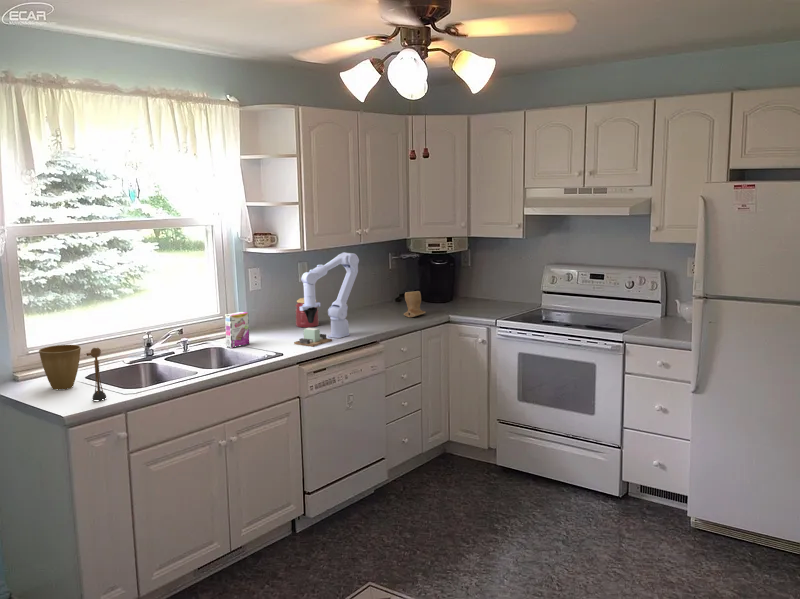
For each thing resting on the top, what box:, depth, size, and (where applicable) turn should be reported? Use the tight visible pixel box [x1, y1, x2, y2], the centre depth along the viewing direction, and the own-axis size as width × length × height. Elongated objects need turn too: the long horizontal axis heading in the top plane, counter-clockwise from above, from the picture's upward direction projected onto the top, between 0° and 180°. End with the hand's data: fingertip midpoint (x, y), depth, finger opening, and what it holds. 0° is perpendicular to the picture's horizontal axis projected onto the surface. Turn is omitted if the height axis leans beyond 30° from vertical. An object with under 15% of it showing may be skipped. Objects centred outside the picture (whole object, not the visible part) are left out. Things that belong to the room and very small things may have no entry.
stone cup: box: [403, 290, 426, 318], centre depth 426 cm, size 15×12×15 cm
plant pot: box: [38, 344, 82, 391], centre depth 282 cm, size 15×15×16 cm
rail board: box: [293, 333, 333, 347], centre depth 358 cm, size 15×12×3 cm
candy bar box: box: [224, 311, 250, 349], centre depth 352 cm, size 11×5×16 cm, turn 141°
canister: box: [294, 297, 320, 328], centre depth 401 cm, size 13×13×18 cm
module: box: [303, 327, 321, 342], centre depth 357 cm, size 4×7×6 cm, turn 58°
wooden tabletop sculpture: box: [86, 346, 107, 401], centre depth 264 cm, size 6×5×20 cm
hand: (310, 322), depth 361 cm, fingers closed
